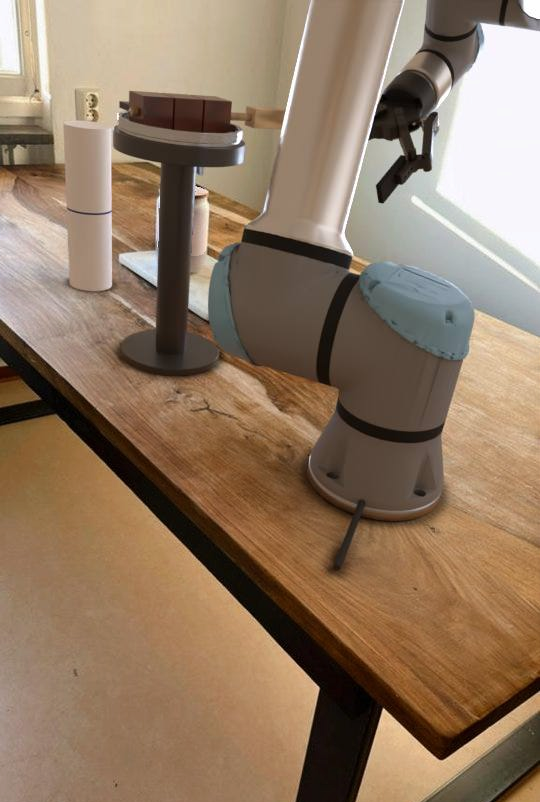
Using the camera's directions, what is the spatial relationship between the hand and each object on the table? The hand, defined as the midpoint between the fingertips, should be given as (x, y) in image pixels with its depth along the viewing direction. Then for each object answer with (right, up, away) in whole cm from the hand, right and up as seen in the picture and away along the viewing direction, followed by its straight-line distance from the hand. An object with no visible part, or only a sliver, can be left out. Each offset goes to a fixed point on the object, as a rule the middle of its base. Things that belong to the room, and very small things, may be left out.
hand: (337, 186), depth 96 cm
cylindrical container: (-40, -7, +25) cm, 48 cm away
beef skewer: (-15, +3, -8) cm, 18 cm away
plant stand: (-26, -21, +7) cm, 34 cm away
